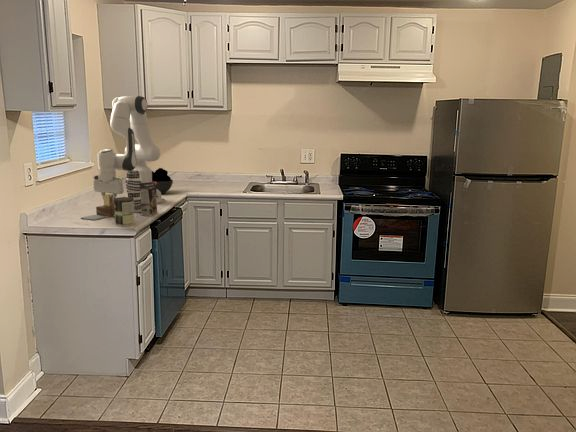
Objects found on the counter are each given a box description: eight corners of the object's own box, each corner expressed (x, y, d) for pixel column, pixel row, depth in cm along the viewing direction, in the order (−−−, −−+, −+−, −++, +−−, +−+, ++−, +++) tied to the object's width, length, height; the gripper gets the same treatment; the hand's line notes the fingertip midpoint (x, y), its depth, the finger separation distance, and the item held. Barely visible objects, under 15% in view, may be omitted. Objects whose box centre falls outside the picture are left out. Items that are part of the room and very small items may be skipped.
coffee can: (113, 226, 273) (111, 200, 270) (117, 222, 283) (116, 197, 280) (132, 226, 274) (131, 200, 271) (136, 221, 284) (135, 197, 281)
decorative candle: (124, 211, 311) (122, 171, 306) (131, 208, 320) (129, 169, 315) (138, 212, 310) (136, 171, 305) (144, 209, 319) (143, 169, 314)
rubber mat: (94, 215, 299) (94, 214, 299) (107, 217, 295) (107, 216, 294) (80, 218, 290) (80, 217, 290) (93, 220, 286) (93, 219, 286)
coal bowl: (175, 191, 390) (174, 167, 386) (170, 195, 370) (170, 170, 366) (148, 191, 388) (147, 166, 385) (142, 195, 369) (141, 169, 365)
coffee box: (151, 216, 300) (150, 189, 296) (141, 215, 301) (139, 188, 297) (157, 213, 309) (156, 186, 305) (147, 212, 310) (146, 186, 306)
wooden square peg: (110, 213, 306) (108, 193, 303) (115, 214, 304) (114, 194, 301) (104, 214, 302) (103, 194, 299) (110, 215, 300) (109, 195, 297)
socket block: (109, 212, 310) (109, 203, 309) (123, 213, 305) (122, 205, 304) (96, 215, 300) (96, 206, 299) (110, 216, 296) (109, 208, 295)
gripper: (125, 177, 297) (126, 200, 299) (99, 175, 305) (100, 197, 308) (117, 178, 291) (118, 202, 294) (91, 176, 300) (92, 199, 302)
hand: (109, 200), depth 301 cm, fingers open, 5 cm apart
